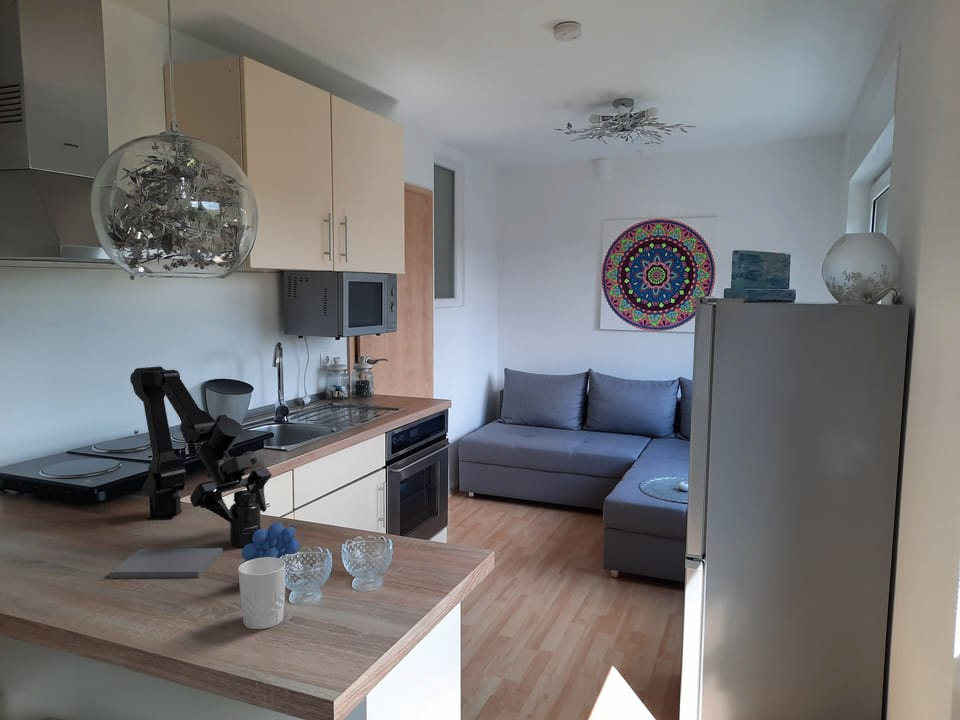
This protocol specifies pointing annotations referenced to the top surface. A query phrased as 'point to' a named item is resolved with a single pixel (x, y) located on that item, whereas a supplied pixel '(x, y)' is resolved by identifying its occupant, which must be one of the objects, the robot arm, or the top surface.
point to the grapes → (271, 543)
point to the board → (167, 563)
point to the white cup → (262, 592)
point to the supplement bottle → (244, 518)
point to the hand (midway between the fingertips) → (248, 515)
